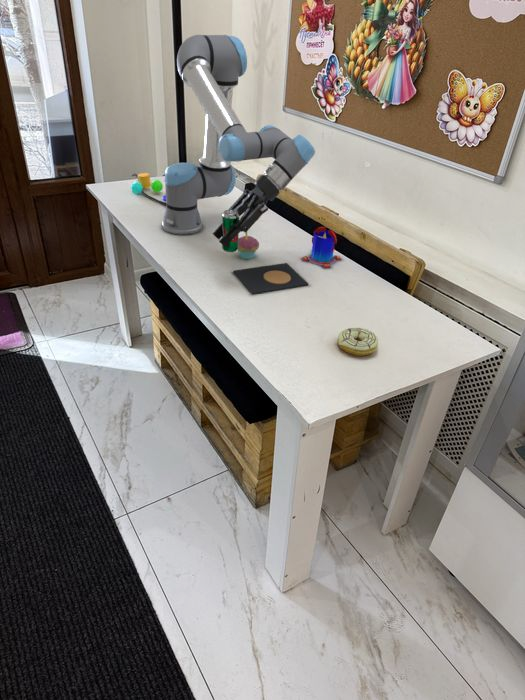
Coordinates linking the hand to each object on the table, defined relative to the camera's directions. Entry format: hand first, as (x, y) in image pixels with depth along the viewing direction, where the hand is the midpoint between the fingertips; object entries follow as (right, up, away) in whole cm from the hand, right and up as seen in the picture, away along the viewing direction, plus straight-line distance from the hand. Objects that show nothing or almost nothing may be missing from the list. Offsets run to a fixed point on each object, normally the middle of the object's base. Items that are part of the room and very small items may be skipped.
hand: (218, 240), depth 154 cm
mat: (+16, -10, +12) cm, 22 cm away
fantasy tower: (+34, -1, +27) cm, 44 cm away
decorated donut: (+39, -33, -16) cm, 53 cm away
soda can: (+3, -2, +3) cm, 5 cm away
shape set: (-27, +35, +71) cm, 84 cm away
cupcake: (+8, 0, +25) cm, 26 cm away
